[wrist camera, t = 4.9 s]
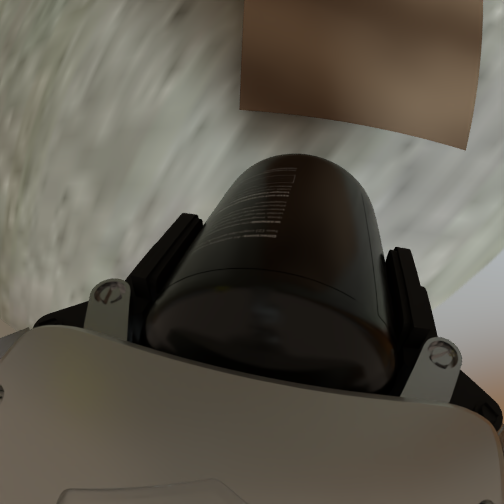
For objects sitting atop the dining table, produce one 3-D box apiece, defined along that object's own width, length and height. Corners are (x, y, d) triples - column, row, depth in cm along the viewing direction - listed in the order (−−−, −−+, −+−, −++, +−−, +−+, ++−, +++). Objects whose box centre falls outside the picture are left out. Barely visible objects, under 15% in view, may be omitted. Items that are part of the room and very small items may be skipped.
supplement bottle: (223, 266, 17) (114, 488, 7) (231, 137, 13) (-3, 381, 3) (353, 295, 16) (330, 544, 6) (395, 170, 12) (480, 505, 2)
